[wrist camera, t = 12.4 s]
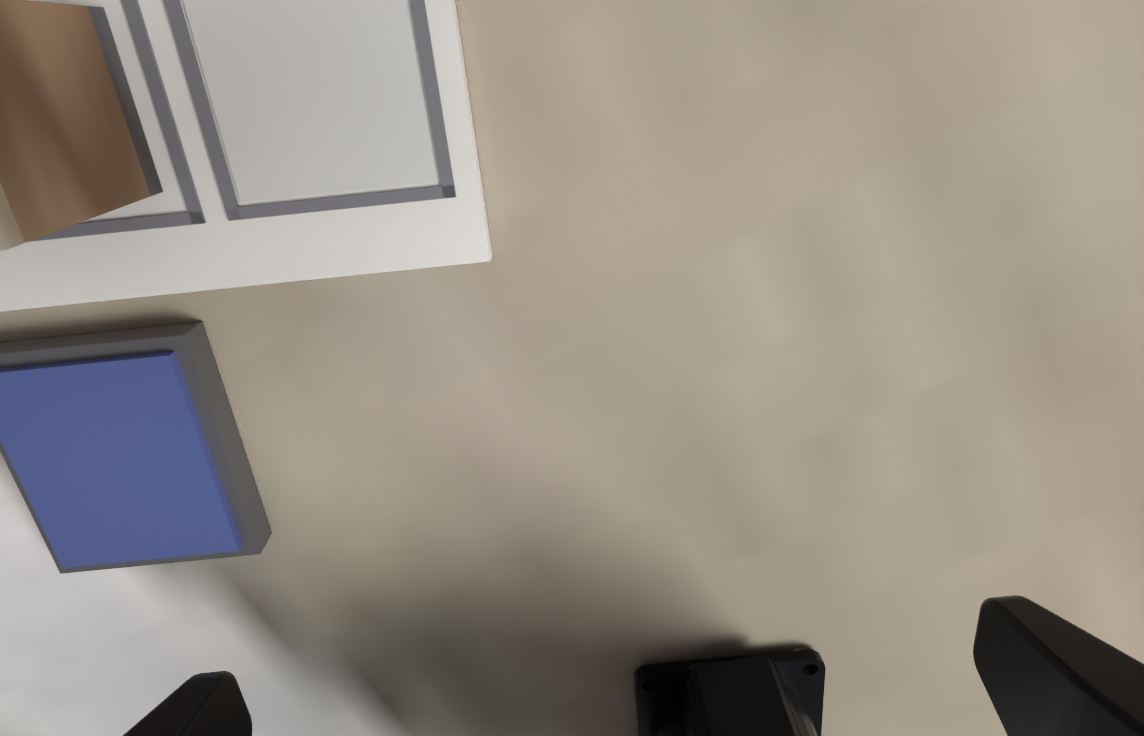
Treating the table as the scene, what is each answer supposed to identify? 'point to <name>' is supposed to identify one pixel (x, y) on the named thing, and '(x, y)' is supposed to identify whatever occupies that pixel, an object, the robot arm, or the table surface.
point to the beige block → (65, 122)
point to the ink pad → (128, 448)
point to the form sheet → (277, 152)
